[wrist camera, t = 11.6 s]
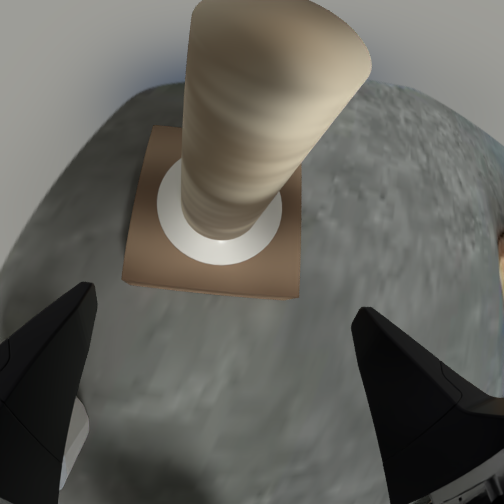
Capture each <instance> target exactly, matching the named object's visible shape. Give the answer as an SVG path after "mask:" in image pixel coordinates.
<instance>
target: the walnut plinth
mask: <svg viewBox="0 0 504 504" xmlns="http://www.w3.org/2000/svg"><path fill="white" fill-rule="evenodd" d="M181 156H182V128H179V127H170V126H159V125H153V128H152V131H151V135H150V138H149V142H148V146H147V150H146V153H145V157H144V161H143V165H142V169H141V173H140V178H139V182H138V187H137V191H136V196H135V200H134V205H133V210H132V216H131V221H130V226H129V232H128V238H127V244H126V250H125V257H124V264H123V271H122V279H121V280H123V281H125V282H126V283H128V284H130V285H135V286H142V287H151V288H159V289H167V290H176V291H185V292H195V293H204V294H214V295H225V296H236V297H247V298H260V299H273V300H288V299H293V298H298V297H299V283H300V253H301V164H300V165H299V166H298V167H297V169H296V170H295V171H294V173H293V174H292V175H291V177H290V178H289V179H288V180H287V182H286V183H285V184H284V186H283V187H282V188H281V190H280V191H279V192H278V193H277V195H276V196H275V197H274V199H273V200H272V201H271V203H270V204H269V205H268V207H267V208H266V209H265V211H264V212H263V213H262V214H261V216H260V217H259V218H258V220H257V221H256V222H255V224H254V225H253V226H252V228H251V229H250V230H249V231H247V232H246V233H245V234H243V235H242V236H240V237H237V238H235V239H231V240H213V239H209V238H206V237H204V236H202V235H200V234H199V233H197V232H196V231H195V230H193V229H192V228H191V227H190V225H189V224H188V223H187V221H186V219H185V218H184V215H183V212H182V208H181Z"/></svg>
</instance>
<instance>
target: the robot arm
mask: <svg viewBox="0 0 504 504" xmlns="http://www.w3.org/2000/svg"><path fill="white" fill-rule="evenodd" d="M96 312H97V297H96V291H95V286H94V284H93V283H90V282H80V283H79V284H78V285H76V286H75V287H73V288H72V289H71V290H69V291H68V292H67V293H65V294H64V295H62V296H61V297H60V298H58V299H57V300H56V301H54V302H53V303H52V304H50V305H49V306H48V307H46V308H45V309H44V310H42V311H41V312H40V313H39V314H37V315H36V316H35V317H33V318H32V319H31V320H30V321H28V322H27V323H26V324H25V325H23V326H22V327H21V328H20V329H18V330H17V331H16V332H15V333H13V334H12V335H11V336H10V337H9V339H8V338H7V339H6V340H5V341H4V342H2V343H1V344H0V504H58V496H59V487H60V479H61V471H62V463H63V457H64V451H65V446H66V440H67V435H68V430H69V425H70V420H71V416H72V411H73V407H74V403H75V399H76V395H77V391H78V387H79V383H80V379H81V376H82V372H83V368H84V365H85V361H86V358H87V355H88V351H89V346H90V341H91V336H92V331H93V326H94V321H95V317H96ZM351 331H352V336H353V341H354V346H355V352H356V357H357V362H358V367H359V371H360V374H361V378H362V381H363V385H364V388H365V392H366V396H367V400H368V403H369V407H370V411H371V415H372V419H373V423H374V427H375V431H376V435H377V440H378V444H379V448H380V453H381V457H382V462H383V467H384V472H385V477H386V482H387V487H388V492H389V498H390V504H409V503H411V502H413V501H416V500H418V499H420V498H422V497H424V496H426V495H428V494H429V496H430V499H431V502H430V503H428V504H504V398H496V397H492V396H489V395H487V394H486V393H484V392H483V391H481V390H480V389H478V388H477V387H476V386H474V385H473V384H471V383H470V382H468V381H467V380H466V379H464V378H463V377H461V376H460V375H459V374H457V373H456V372H455V371H453V370H452V369H451V368H449V367H448V366H447V365H445V364H444V363H443V362H442V361H439V359H438V358H437V357H435V356H434V355H433V354H432V353H430V352H429V351H428V350H427V349H425V348H424V347H423V346H421V345H420V344H419V343H418V342H416V341H415V340H414V339H412V338H411V337H410V336H409V335H407V334H406V333H405V332H403V331H402V330H401V329H400V328H398V327H397V326H396V325H394V324H393V323H392V322H390V321H389V320H388V319H387V318H385V317H384V316H383V315H381V314H380V313H379V312H377V311H376V310H375V309H373V308H372V307H361V308H360V309H359V311H358V313H357V315H356V316H355V318H354V320H353V322H352V325H351Z"/></svg>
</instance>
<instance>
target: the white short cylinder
mask: <svg viewBox="0 0 504 504" xmlns="http://www.w3.org/2000/svg"><path fill="white" fill-rule="evenodd" d="M88 433H89V418H88V415H87V413H86V410H85V408H84V405H83V404H82V403H81V401H80V400H79V399H78V398H77V396H76V399H75V403H74V407H73V411H72V416H71V420H70V425H69V430H68V435H67V440H66V446H65V451H64V457H63V463H62V471H61V479H60V487H59V490H61V489H62V488H63V486H64V484H65V482H66V479H67V477H68V475H69V473H70V471H71V469H72V467H73V465H74V463H75V460H76V458H77V456H78V454H79V452H80V450H81V448H82V446H83V444H84V442H85V440H86V438H87V436H88Z"/></svg>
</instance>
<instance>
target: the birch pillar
mask: <svg viewBox="0 0 504 504" xmlns="http://www.w3.org/2000/svg"><path fill="white" fill-rule="evenodd" d="M371 67H372V64H371V58H370V54H369V51H368V49H367V47H366V45H365V44H364V42H363V41H362V39H361V38H360V37H359V36H358V34H357V33H356V32H355V31H354V30H353V29H352V28H351V27H350V26H349V25H348V24H347V23H345V22H344V21H343V20H342V19H340V18H339V17H337V16H336V15H335V14H333V13H332V12H330V11H329V10H326V9H325V8H323V7H322V6H320V5H318V4H316V3H313V2H311V1H309V0H202V1H201V2H200V3H199V4H198V5H197V6H196V7H195V9H194V11H193V13H192V18H191V26H190V35H189V44H188V54H187V65H186V77H185V91H184V107H183V127H182V156H181V208H182V212H183V215H184V218H185V219H186V221H187V223H188V224H189V225H190V227H191V228H192V229H193V230H195V231H196V232H197V233H199V234H200V235H202V236H204V237H206V238H209V239H213V240H231V239H235V238H237V237H240V236H242V235H243V234H245V233H246V232H247V231H249V230H250V229H251V228H252V226H253V225H254V224H255V222H256V221H257V220H258V218H259V217H260V216H261V214H262V213H263V212H264V211H265V209H266V208H267V207H268V205H269V204H270V203H271V201H272V200H273V199H274V197H275V196H276V195H277V193H278V192H279V191H280V190H281V188H282V187H283V186H284V184H285V183H286V182H287V180H288V179H289V178H290V177H291V175H292V174H293V173H294V171H295V170H296V169H297V167H298V166H299V165H300V164H301V162H302V161H303V160H304V158H305V157H306V156H307V155H308V153H309V152H310V151H311V149H312V148H313V147H314V145H315V144H316V143H317V142H318V140H319V139H320V138H321V137H322V135H323V134H324V133H325V131H326V130H327V129H328V128H329V126H330V125H331V124H332V122H333V121H334V120H335V119H336V117H337V116H338V115H339V114H340V112H341V111H342V110H343V108H344V107H345V106H346V105H347V103H348V102H349V101H350V100H351V98H352V97H353V96H354V95H355V93H356V92H357V91H358V90H359V88H360V87H361V86H362V85H363V83H364V82H365V81H366V79H367V78H368V76H369V75H370V72H371Z"/></svg>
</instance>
